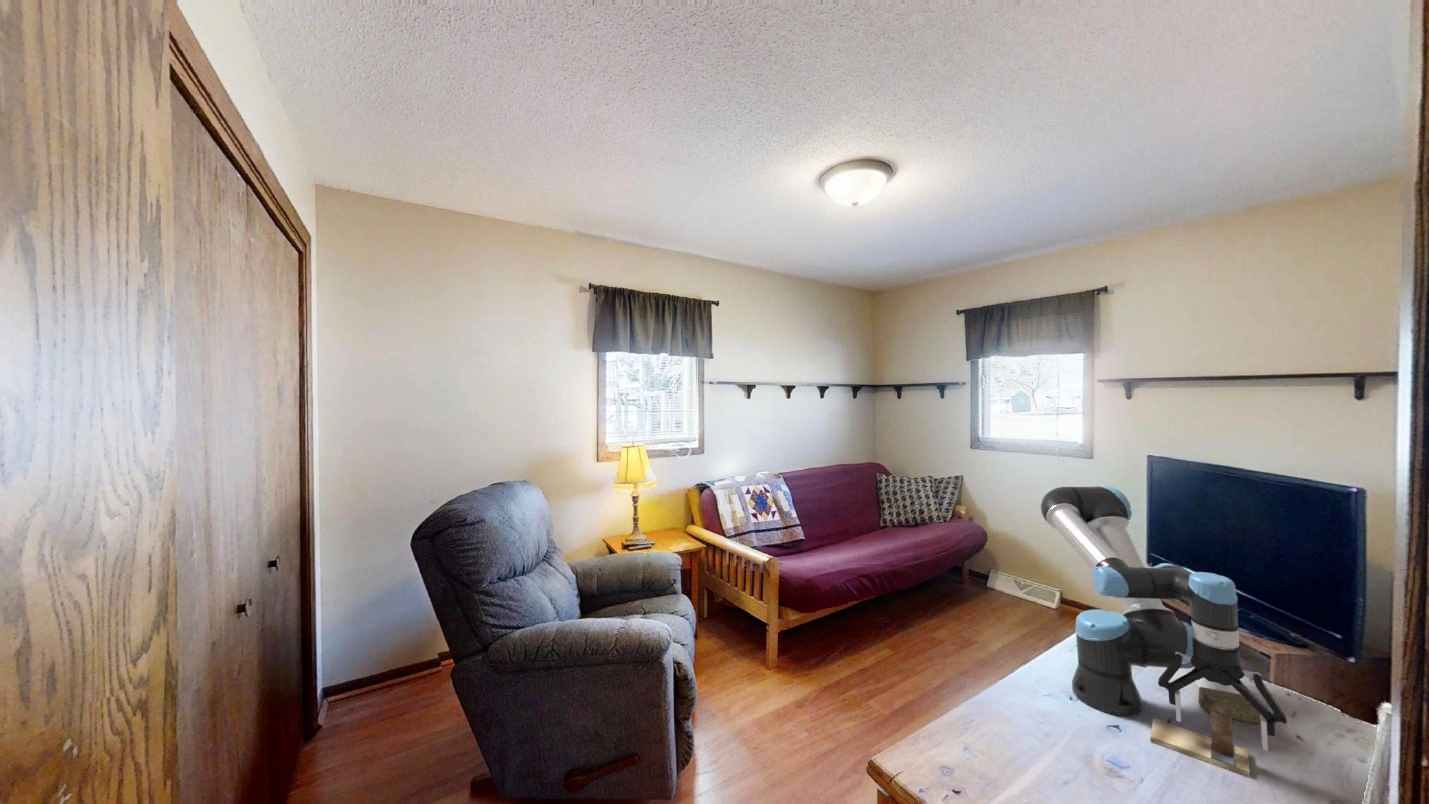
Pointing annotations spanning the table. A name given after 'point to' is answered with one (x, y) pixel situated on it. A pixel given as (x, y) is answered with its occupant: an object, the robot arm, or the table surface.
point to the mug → (1215, 686)
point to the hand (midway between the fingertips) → (1219, 732)
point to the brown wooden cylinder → (1221, 731)
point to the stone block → (1228, 704)
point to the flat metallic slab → (1198, 747)
